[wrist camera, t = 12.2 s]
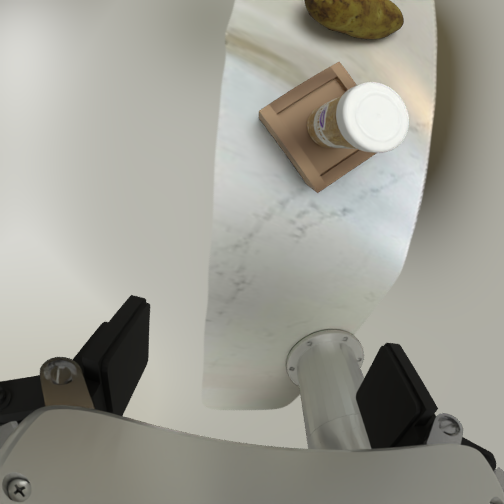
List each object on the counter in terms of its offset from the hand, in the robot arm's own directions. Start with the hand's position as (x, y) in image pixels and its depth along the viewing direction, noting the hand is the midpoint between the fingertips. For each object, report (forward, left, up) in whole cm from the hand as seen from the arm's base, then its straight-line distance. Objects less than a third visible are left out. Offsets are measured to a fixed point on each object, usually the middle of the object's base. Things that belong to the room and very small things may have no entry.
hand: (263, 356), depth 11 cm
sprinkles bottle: (+4, -11, -22) cm, 25 cm away
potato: (+14, -25, -28) cm, 40 cm away
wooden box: (+4, -11, -28) cm, 30 cm away
